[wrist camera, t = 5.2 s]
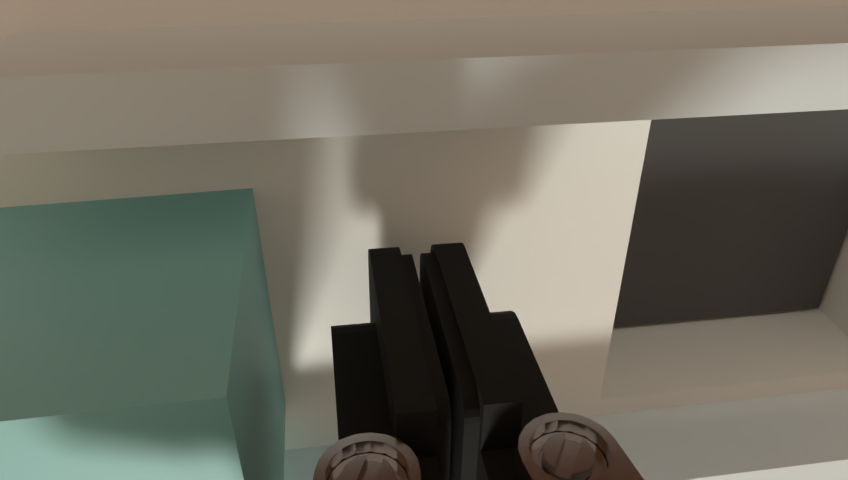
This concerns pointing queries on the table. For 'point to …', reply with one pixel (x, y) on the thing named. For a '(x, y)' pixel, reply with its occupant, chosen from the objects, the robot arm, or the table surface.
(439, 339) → the robot arm
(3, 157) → the deck
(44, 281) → the block
